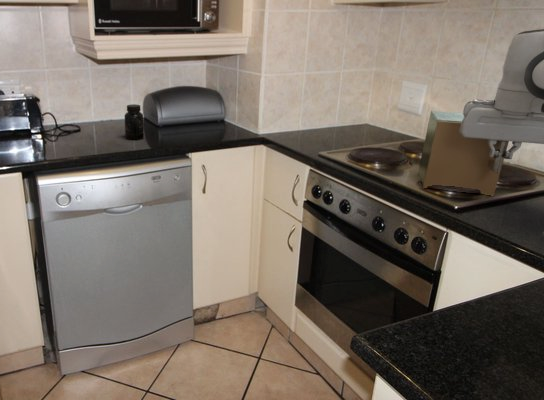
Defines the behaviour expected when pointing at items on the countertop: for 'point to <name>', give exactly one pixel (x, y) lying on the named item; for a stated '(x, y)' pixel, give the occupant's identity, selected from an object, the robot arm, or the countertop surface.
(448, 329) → the countertop surface
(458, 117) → the valve cabinet
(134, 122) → the supplement bottle
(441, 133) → the door
